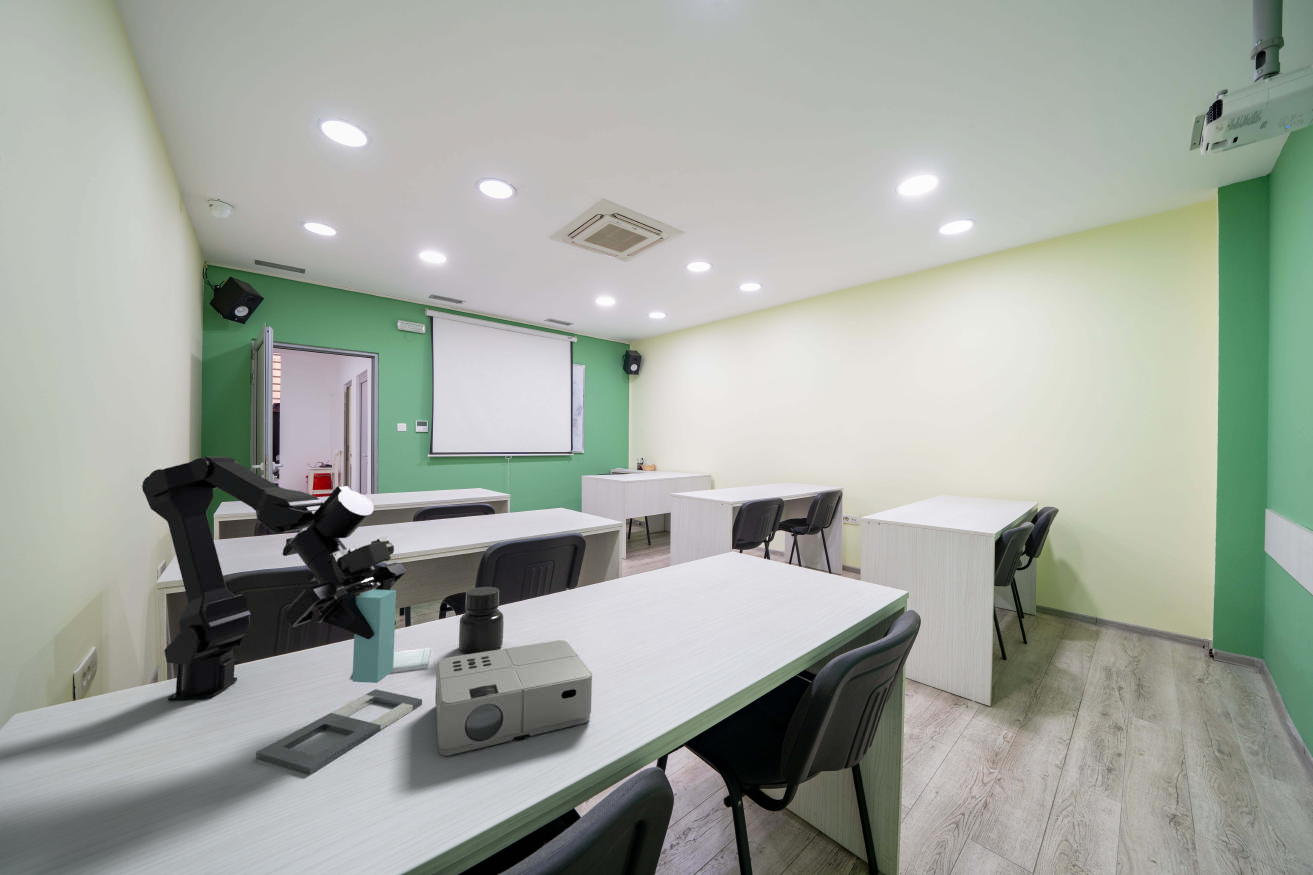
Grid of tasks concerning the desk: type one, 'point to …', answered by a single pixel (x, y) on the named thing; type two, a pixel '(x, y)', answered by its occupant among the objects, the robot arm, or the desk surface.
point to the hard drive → (411, 660)
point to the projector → (509, 695)
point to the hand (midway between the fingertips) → (382, 631)
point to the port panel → (340, 724)
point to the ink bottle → (481, 621)
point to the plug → (375, 637)
